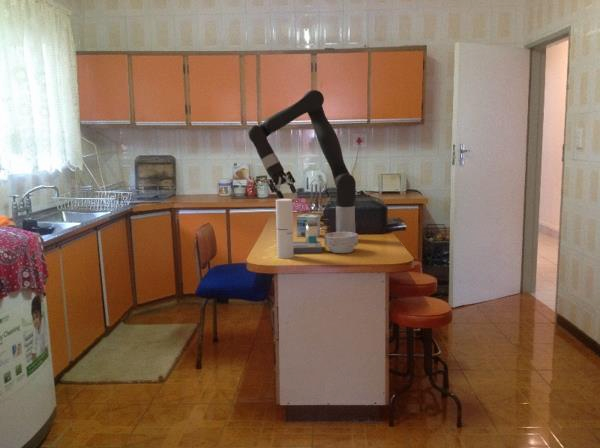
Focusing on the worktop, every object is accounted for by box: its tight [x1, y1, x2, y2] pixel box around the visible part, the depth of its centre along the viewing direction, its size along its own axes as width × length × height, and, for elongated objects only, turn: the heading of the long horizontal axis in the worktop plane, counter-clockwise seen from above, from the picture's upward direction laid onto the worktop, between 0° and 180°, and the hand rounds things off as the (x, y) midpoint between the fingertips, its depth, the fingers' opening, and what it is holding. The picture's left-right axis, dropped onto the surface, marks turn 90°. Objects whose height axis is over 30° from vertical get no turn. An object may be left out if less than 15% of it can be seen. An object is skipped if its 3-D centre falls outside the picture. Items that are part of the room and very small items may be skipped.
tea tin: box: [305, 222, 319, 244], centre depth 249 cm, size 6×6×10 cm
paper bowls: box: [323, 231, 359, 254], centre depth 246 cm, size 15×15×8 cm
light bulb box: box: [296, 213, 321, 238], centre depth 283 cm, size 11×7×11 cm, turn 68°
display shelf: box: [293, 240, 323, 254], centre depth 251 cm, size 17×13×4 cm
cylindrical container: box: [275, 198, 295, 259], centre depth 237 cm, size 7×7×25 cm
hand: (288, 195), depth 256 cm, fingers open, 8 cm apart
